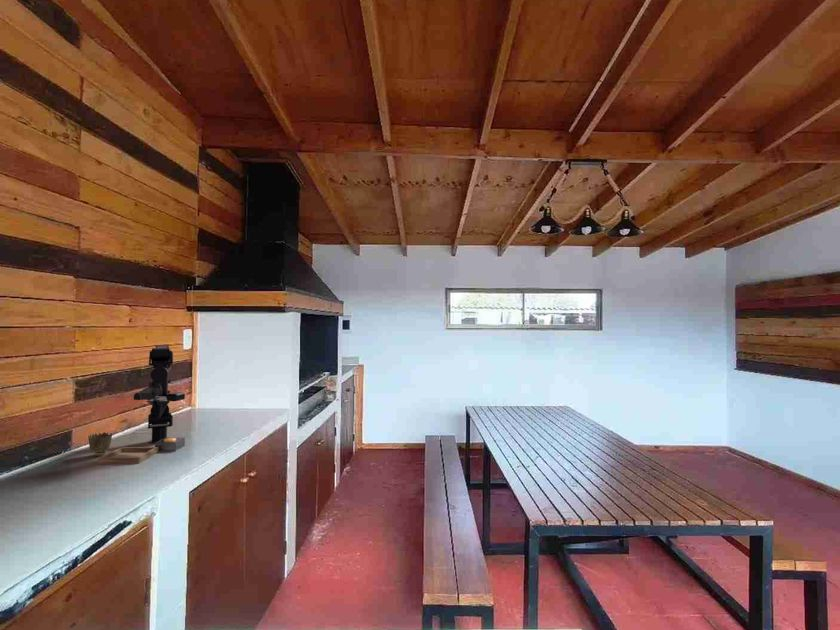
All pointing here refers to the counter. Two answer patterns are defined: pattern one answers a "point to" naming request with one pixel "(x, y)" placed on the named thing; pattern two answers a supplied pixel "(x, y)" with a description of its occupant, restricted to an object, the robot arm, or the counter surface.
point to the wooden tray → (128, 455)
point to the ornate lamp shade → (100, 443)
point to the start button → (170, 440)
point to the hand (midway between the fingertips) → (158, 417)
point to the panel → (170, 444)
